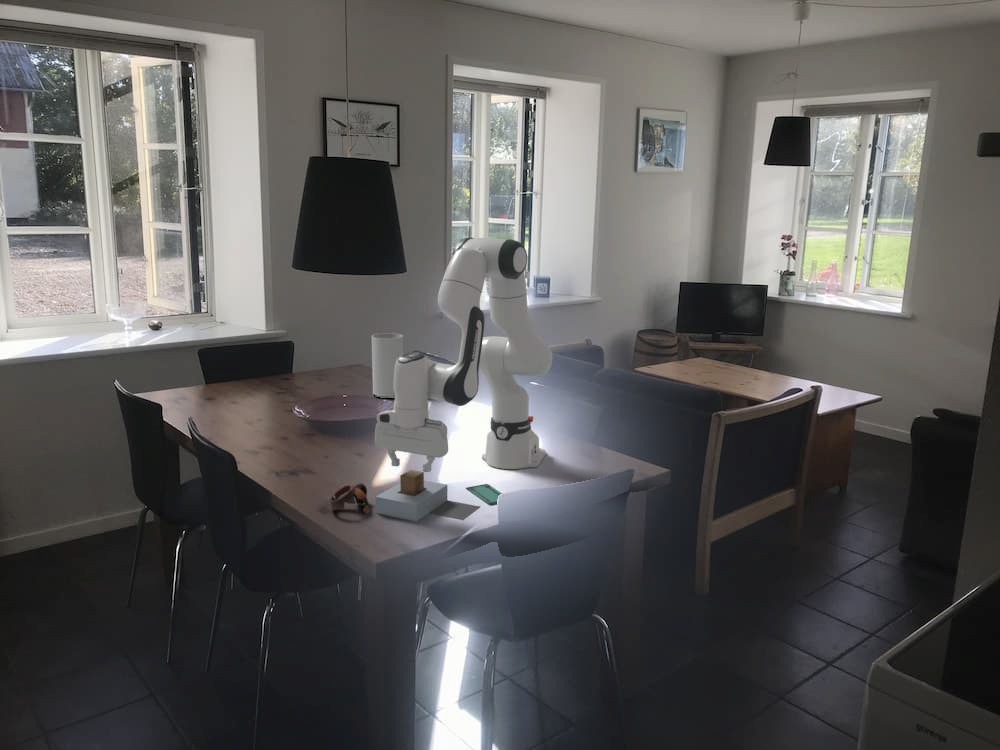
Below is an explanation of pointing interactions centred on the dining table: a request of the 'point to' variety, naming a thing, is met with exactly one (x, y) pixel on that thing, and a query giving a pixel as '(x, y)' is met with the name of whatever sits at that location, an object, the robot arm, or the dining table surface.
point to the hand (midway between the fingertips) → (411, 468)
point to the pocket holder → (411, 501)
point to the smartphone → (485, 493)
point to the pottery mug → (350, 497)
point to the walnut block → (412, 482)
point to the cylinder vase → (385, 362)
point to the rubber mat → (454, 510)
